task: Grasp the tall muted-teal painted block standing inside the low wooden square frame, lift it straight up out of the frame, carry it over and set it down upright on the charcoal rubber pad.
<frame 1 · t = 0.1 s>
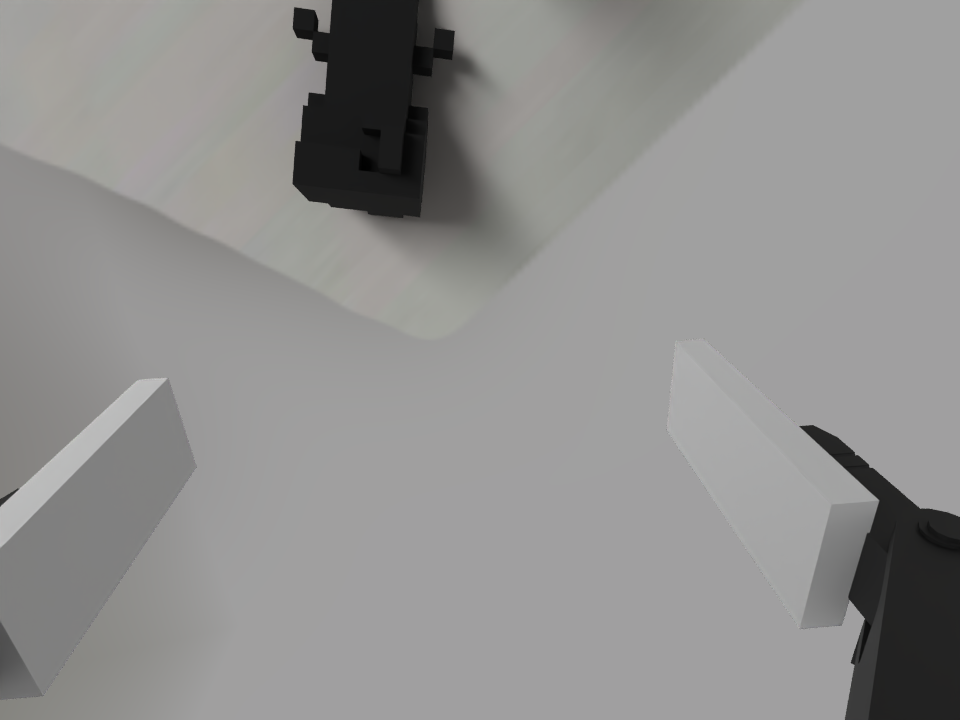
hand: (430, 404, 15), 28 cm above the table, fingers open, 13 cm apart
toy: (377, 86, 37), on the table
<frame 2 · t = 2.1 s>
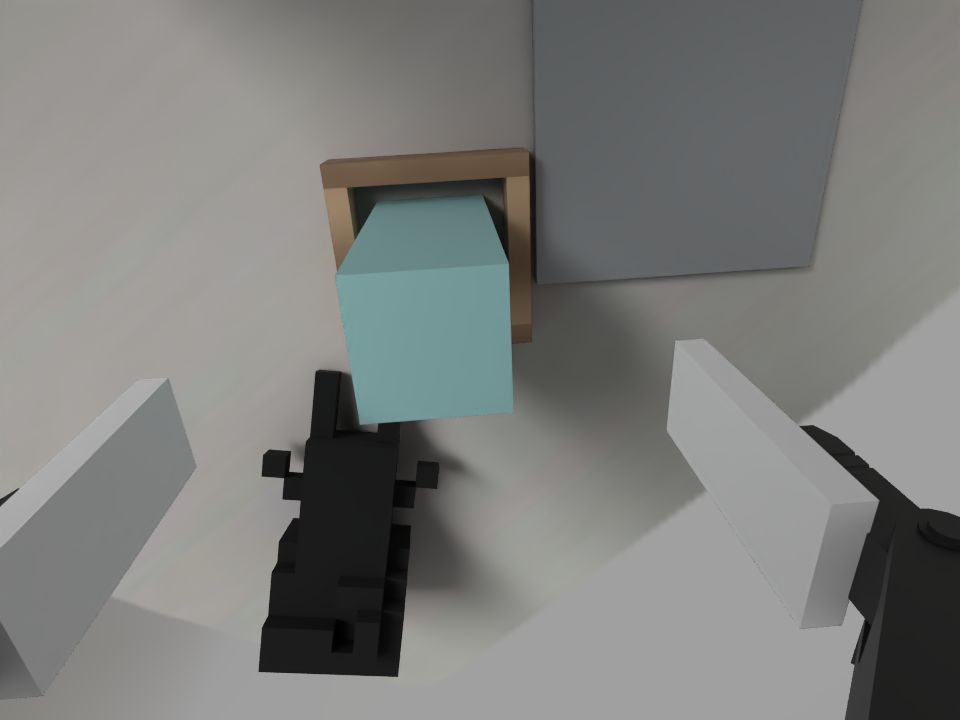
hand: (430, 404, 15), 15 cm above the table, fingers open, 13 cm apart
toy: (357, 481, 34), on the table
block: (432, 287, 23), in the wooden square frame
wooden square frame: (434, 249, 28), on the table
pad: (683, 126, 26), on the table
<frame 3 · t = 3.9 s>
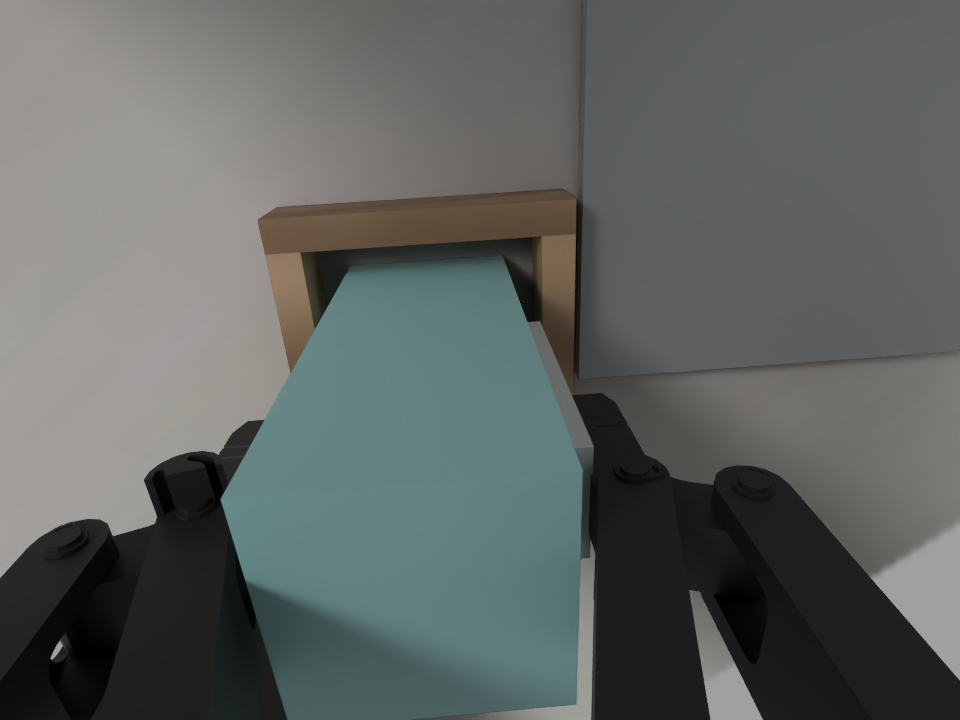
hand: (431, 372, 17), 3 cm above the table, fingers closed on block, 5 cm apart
toy: (333, 609, 26), on the table
block: (429, 419, 14), in the wooden square frame, touching gripper
wooden square frame: (433, 330, 20), on the table
pad: (798, 157, 18), on the table
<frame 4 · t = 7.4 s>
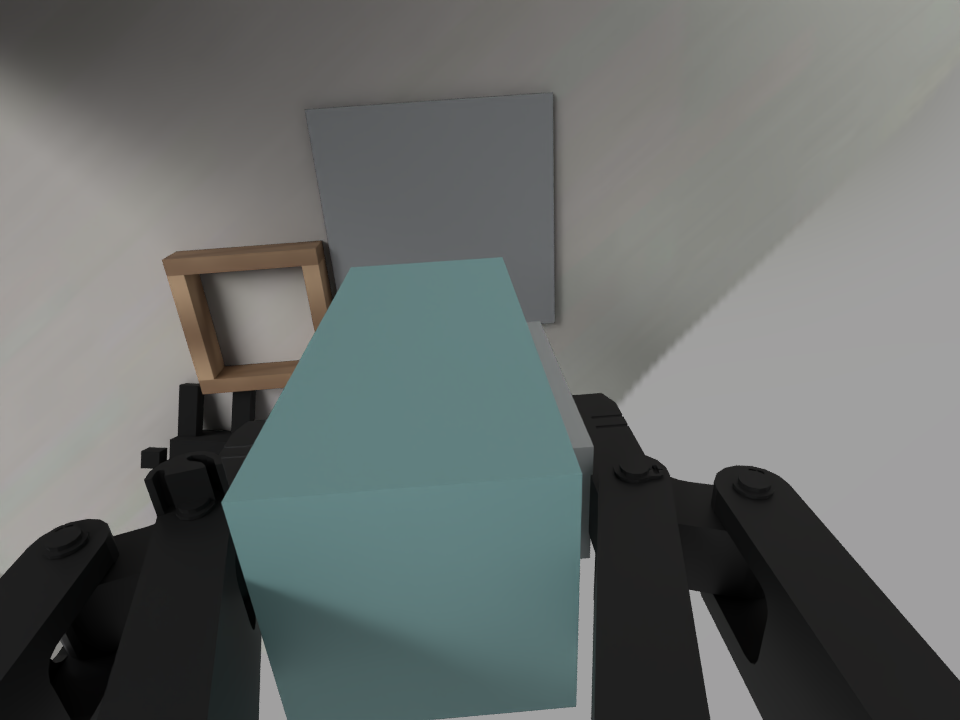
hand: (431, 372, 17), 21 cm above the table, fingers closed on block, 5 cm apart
toy: (231, 471, 43), on the table
block: (429, 421, 14), point 24 cm above the table, touching gripper
wooden square frame: (265, 313, 37), on the table
pad: (440, 223, 36), on the table
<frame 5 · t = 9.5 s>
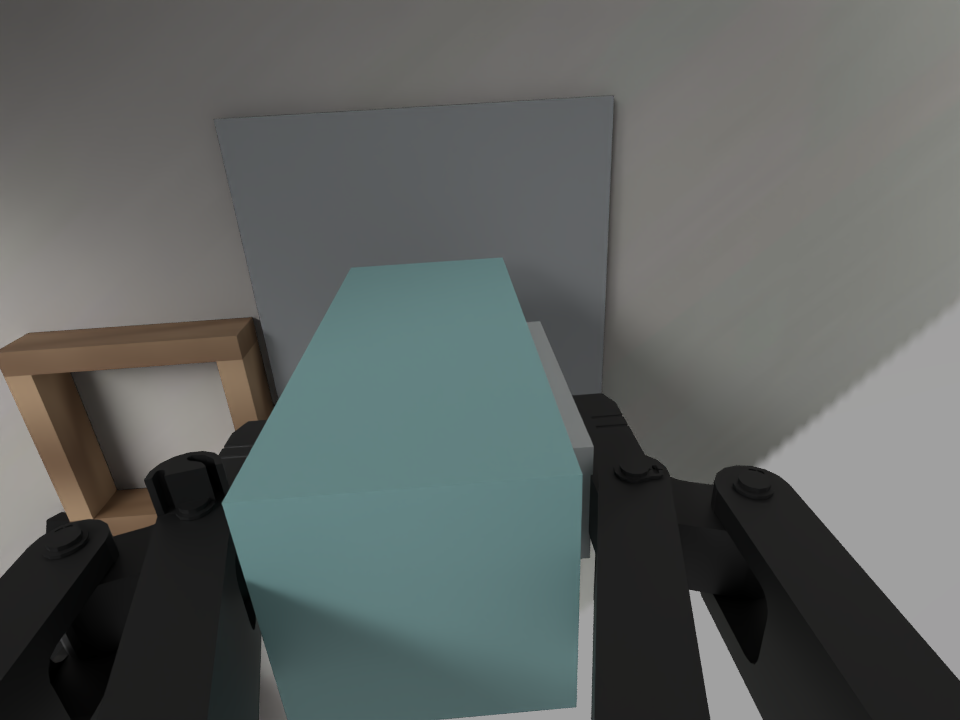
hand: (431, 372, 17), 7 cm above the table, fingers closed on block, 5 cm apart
toy: (137, 621, 31), on the table
block: (429, 421, 14), point 10 cm above the table, touching gripper
wooden square frame: (172, 419, 25), on the table
pad: (433, 292, 23), on the table
when the fingers open (4 cm above the table, at t = 11.1 s): block stays where it is, resting on pad.
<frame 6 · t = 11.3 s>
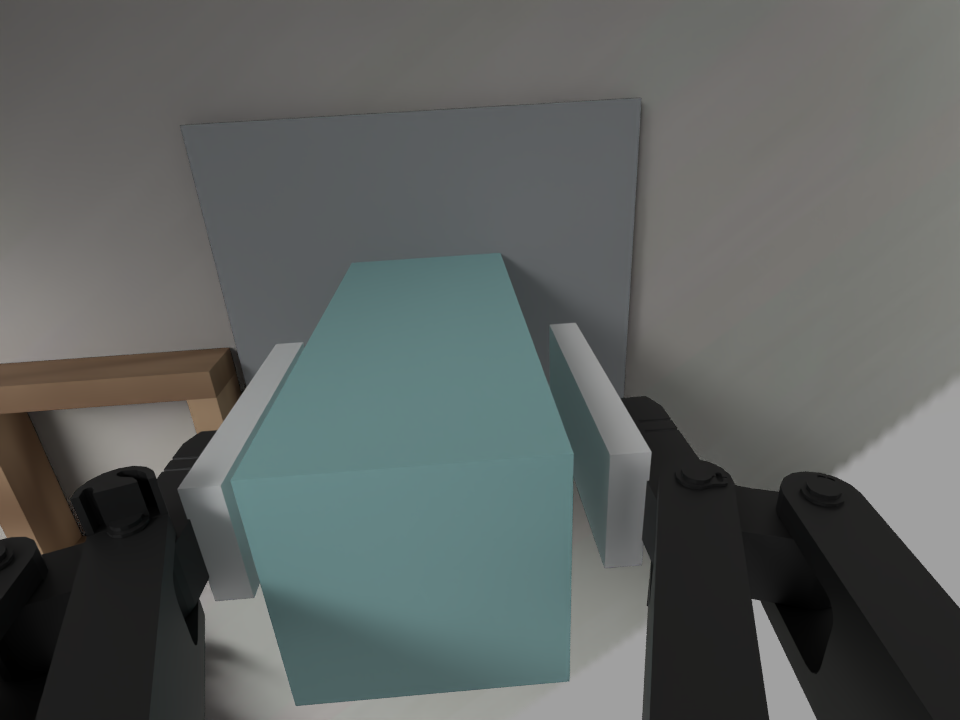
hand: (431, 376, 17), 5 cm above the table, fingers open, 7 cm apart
block: (428, 410, 15), on the pad, point 7 cm above the table
wooden square frame: (141, 460, 23), on the table
pad: (433, 320, 21), on the table
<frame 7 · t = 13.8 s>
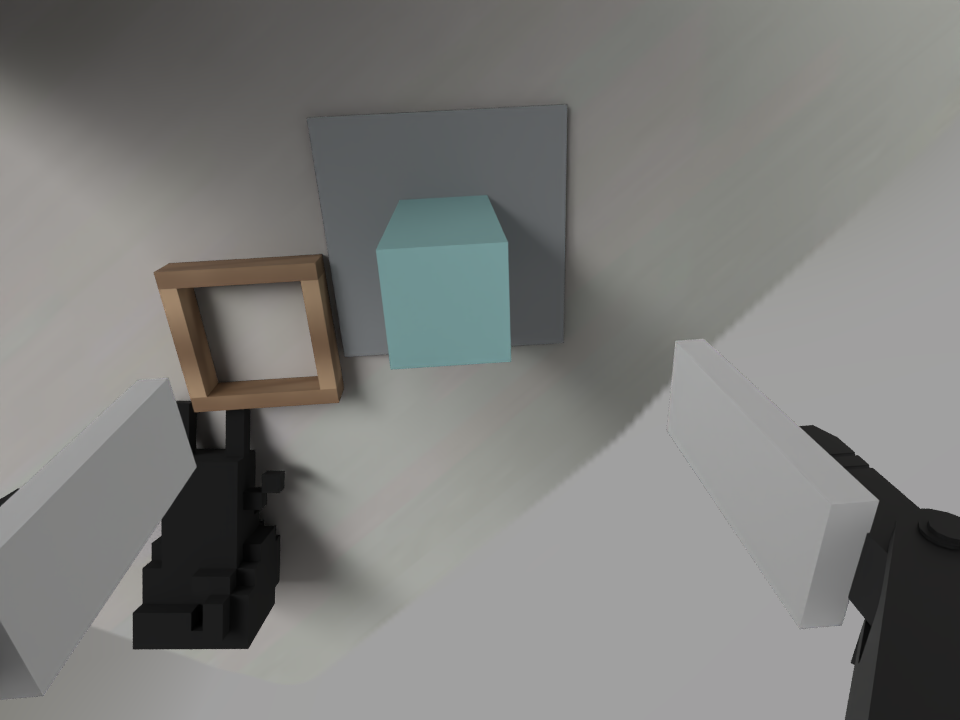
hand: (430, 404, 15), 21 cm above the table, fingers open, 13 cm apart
toy: (229, 490, 41), on the table
block: (446, 268, 28), on the pad, point 7 cm above the table
wooden square frame: (261, 329, 36), on the table
pad: (447, 238, 34), on the table
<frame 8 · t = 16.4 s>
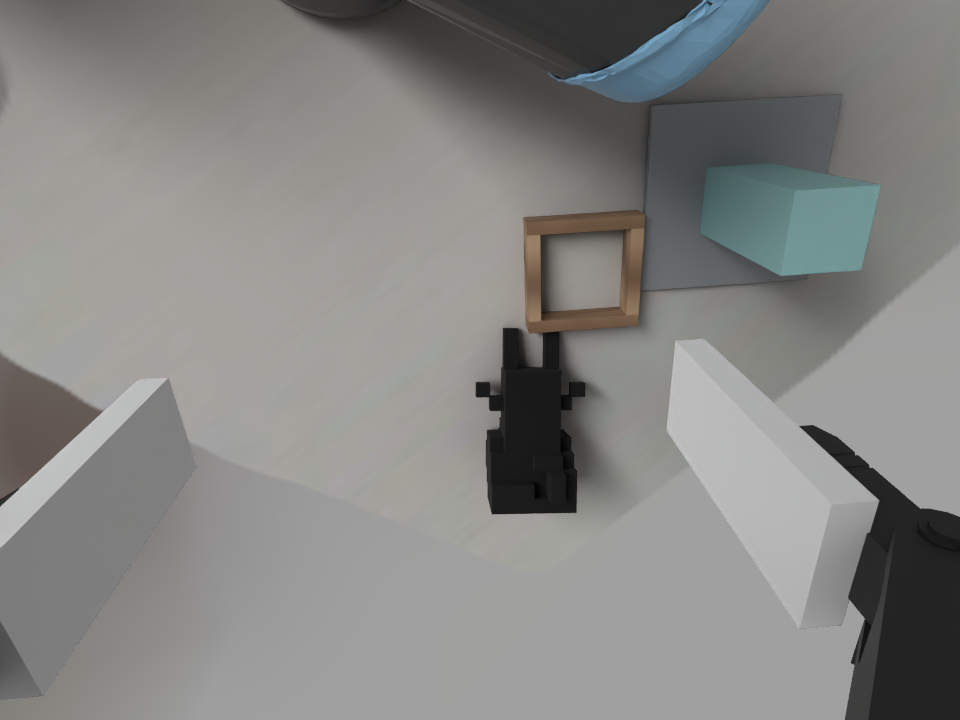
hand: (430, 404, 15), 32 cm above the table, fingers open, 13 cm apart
toy: (524, 403, 52), on the table
block: (775, 213, 39), on the pad, point 7 cm above the table
wooden square frame: (579, 269, 47), on the table
pad: (731, 197, 45), on the table
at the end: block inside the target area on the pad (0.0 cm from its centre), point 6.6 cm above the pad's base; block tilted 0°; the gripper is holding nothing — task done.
